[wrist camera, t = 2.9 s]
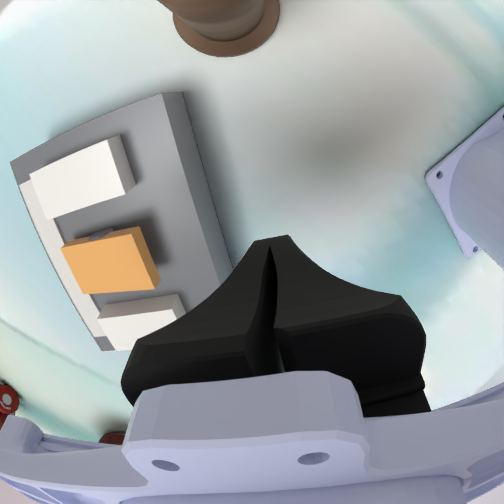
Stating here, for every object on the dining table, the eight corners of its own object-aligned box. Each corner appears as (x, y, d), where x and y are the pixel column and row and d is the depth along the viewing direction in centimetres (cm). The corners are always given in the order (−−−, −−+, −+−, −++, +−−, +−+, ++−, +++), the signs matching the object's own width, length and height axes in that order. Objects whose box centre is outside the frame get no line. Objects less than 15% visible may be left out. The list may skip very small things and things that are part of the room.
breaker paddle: (145, 219, 15) (131, 234, 14) (166, 272, 16) (155, 289, 15) (75, 235, 16) (60, 248, 15) (96, 279, 18) (83, 294, 16)
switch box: (182, 91, 16) (151, 94, 11) (241, 297, 22) (237, 354, 18) (46, 146, 17) (-6, 169, 13) (119, 315, 24) (95, 364, 19)
